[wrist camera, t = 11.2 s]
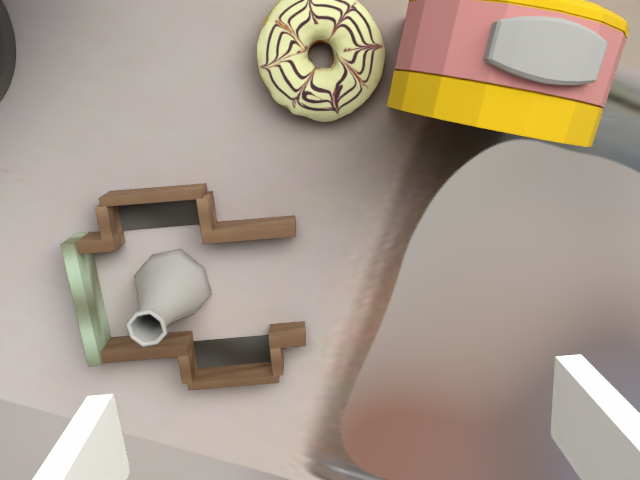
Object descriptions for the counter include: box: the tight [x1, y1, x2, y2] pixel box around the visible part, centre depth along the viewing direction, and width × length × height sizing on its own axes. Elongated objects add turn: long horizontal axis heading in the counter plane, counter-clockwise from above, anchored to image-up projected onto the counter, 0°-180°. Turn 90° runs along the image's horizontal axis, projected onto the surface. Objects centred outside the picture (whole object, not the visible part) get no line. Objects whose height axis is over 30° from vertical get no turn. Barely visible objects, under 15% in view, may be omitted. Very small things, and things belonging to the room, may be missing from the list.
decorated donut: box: [257, 0, 386, 122], centre depth 46 cm, size 10×11×4 cm
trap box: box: [60, 183, 306, 390], centre depth 52 cm, size 20×21×4 cm
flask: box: [126, 249, 211, 347], centre depth 49 cm, size 7×7×10 cm
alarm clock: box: [387, 0, 629, 147], centre depth 40 cm, size 15×8×18 cm, turn 79°
